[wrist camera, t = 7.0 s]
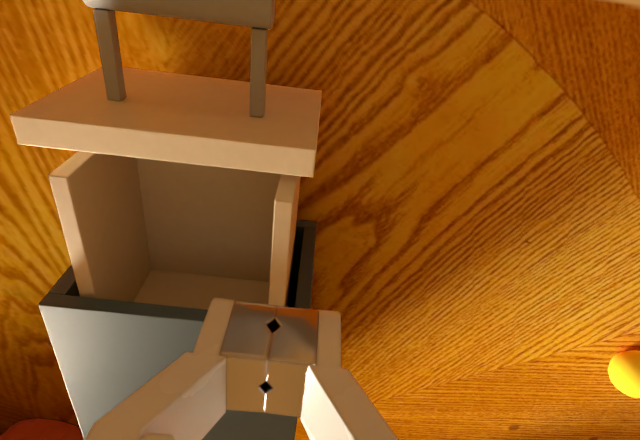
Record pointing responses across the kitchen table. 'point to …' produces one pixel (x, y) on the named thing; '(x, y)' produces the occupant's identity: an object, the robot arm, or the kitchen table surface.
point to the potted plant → (42, 430)
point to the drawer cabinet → (149, 346)
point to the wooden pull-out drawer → (178, 168)
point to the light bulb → (626, 372)
